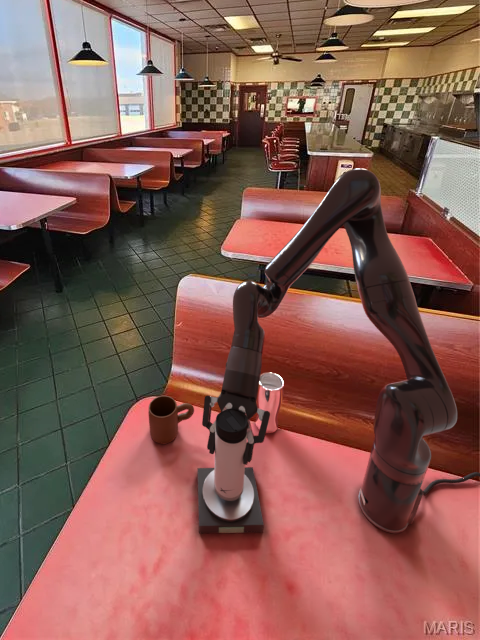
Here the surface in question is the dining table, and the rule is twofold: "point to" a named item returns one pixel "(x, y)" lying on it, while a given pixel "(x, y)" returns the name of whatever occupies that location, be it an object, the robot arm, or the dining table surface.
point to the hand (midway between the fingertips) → (228, 458)
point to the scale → (215, 525)
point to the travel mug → (230, 453)
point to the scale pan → (225, 508)
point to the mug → (166, 418)
